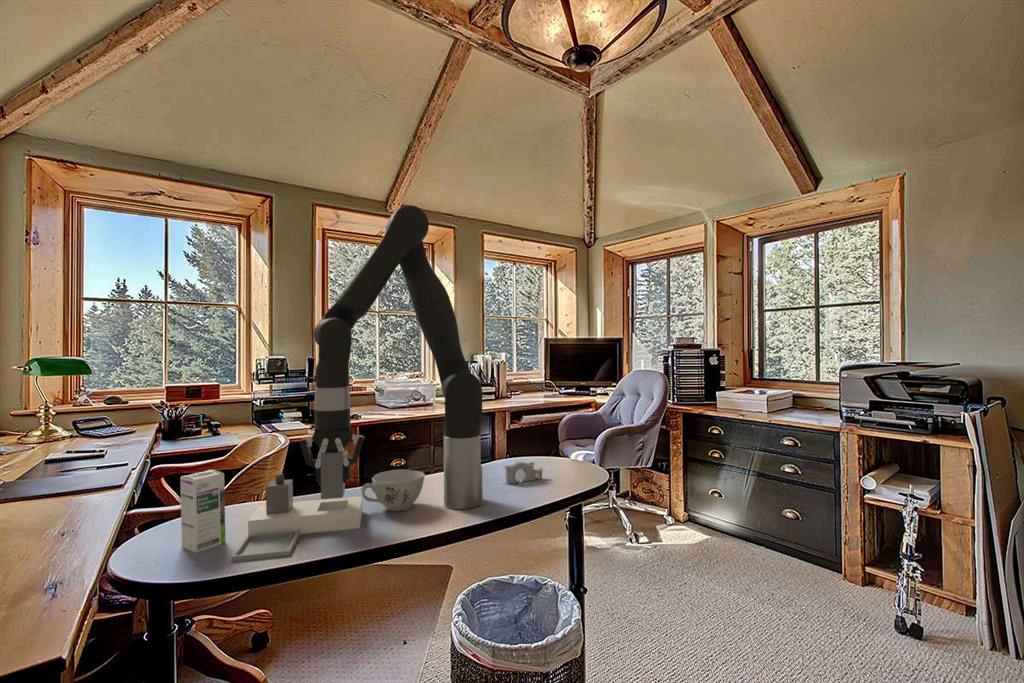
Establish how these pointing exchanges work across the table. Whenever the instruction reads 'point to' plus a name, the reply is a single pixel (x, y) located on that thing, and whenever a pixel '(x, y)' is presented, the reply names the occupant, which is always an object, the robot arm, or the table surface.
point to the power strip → (303, 512)
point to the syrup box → (202, 510)
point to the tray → (266, 546)
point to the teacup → (395, 488)
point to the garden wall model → (528, 472)
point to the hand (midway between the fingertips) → (332, 482)
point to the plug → (332, 475)
